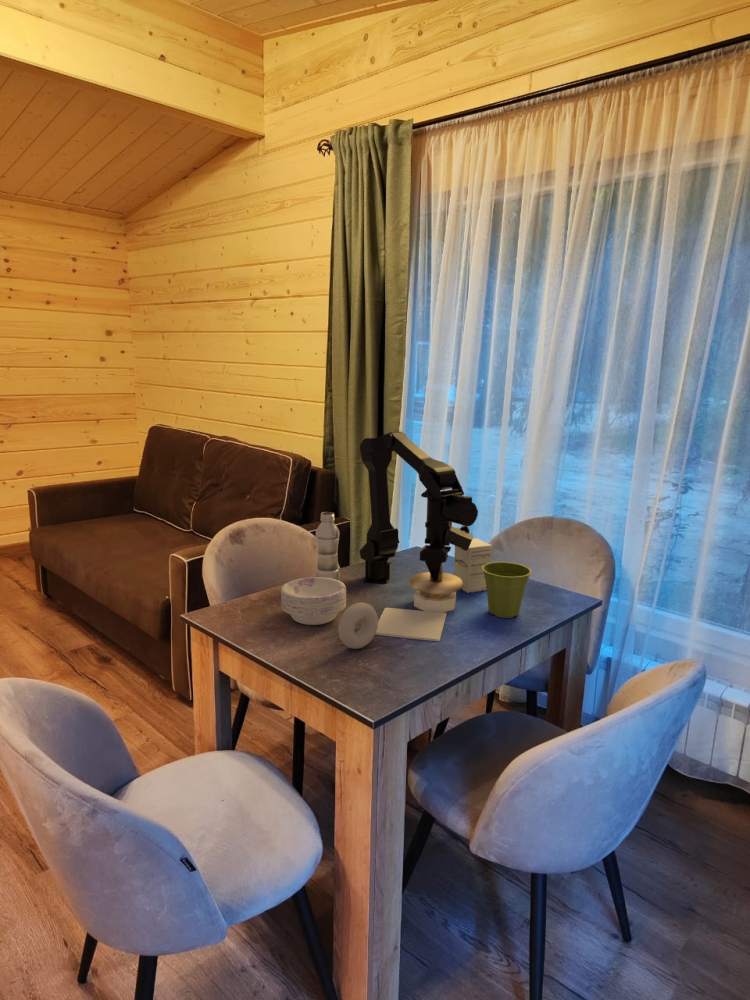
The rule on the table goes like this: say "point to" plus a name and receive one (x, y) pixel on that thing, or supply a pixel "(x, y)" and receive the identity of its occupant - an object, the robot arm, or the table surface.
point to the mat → (411, 624)
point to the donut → (350, 620)
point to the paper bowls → (313, 599)
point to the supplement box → (472, 565)
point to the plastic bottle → (327, 547)
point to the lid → (436, 583)
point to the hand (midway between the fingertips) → (436, 578)
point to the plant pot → (505, 587)
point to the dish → (435, 601)
